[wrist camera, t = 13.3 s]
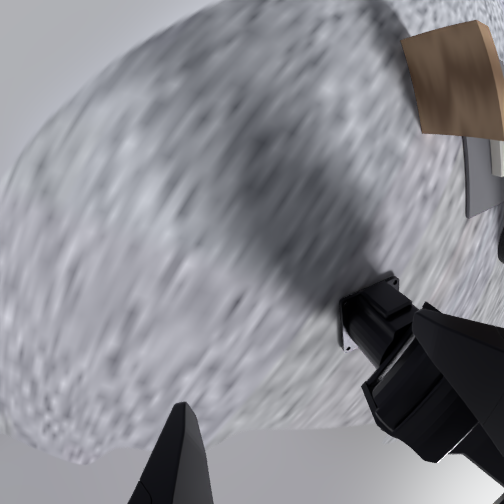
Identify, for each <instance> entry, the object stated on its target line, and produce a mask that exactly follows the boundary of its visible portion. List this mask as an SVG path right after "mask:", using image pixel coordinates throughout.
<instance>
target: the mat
mask: <svg viewBox="0 0 504 504" xmlns="http://www.w3.org/2000/svg"><path fill="white" fill-rule="evenodd" d="M499 61H500V65H501V69H502V73H503V77H504V63H503V61H501V60H499ZM463 141H464V152H465V165H466V191H467V206H466V217H467V218H472V217H474V216H476V215H478V214H480V213H482V212H484V211H486V210H488V209H490V208H492V207H495V206H497V205H499V204H501V203H503V202H504V176H503V177H499V176H495V175H492V159H491V145H490V139H483V138H475V137H466V136H463Z"/></svg>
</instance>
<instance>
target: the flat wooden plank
mask: <svg viewBox="0 0 504 504" xmlns="http://www.w3.org/2000/svg"><path fill="white" fill-rule="evenodd" d="M400 41H401V44H402V47H403V50H404V54H405V57H406V60H407V64H408V68H409V71H410V75H411V79H412V83H413V88H414V92H415V97H416V101H417V106H418V112H419V117H420V123H421V129H422V133H424V134H442V135H455V136H466V137H475V138H483V139H491V140H498V141H504V77H503V73H502V69H501V65H500V61H499V58H498V54H497V51H496V48H495V45H494V41H493V38H492V36H491V33H490V30H489V27H488V26H486V25H485V24H483V23H481V22H479V21H477V20H474V21H469V22H464V23H459V24H455V25H451V26H447V27H443V28H439V29H435V30H432V31H428V32H425V33H422V34H418V35H415V36H412V37H409V38H406V39H403V40H400Z"/></svg>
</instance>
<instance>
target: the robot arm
mask: <svg viewBox="0 0 504 504" xmlns="http://www.w3.org/2000/svg"><path fill="white" fill-rule="evenodd" d="M345 302H346V304H344V303H345ZM339 307H340V320H341V335H342V349H343V351H344V352H345V353H347V352H350V351H352V350H354V349H356V348H360V350H361V351H362V352H363V353H364V354H365V356H366V357H367V358H368V359H369V360H370V362H371V363H372V364H373V365H374V366H375V368H376V369H377V370H376V371H375V372H374V373H373V375H372V376H371V377H370V378H369V379H368V380H367V381H365V382H364V383H363V385H362V386H361V387H362V390H363V392H364V395H365V397H366V400H367V402H368V405H369V407H370V410H371V412H372V415H373V417H374V420H375V422H376V424H377V426H379V427H380V428H381V430H382V431H385V432H386V433H387V434H389V435H390V436H392V437H394V438H398V439H399V440H401V441H403V442H404V443H405V444H407V445H408V446H409V447H411V448H412V449H413V450H414V451H415V452H416V453H417V454H418V455H419V456H420V457H421V458H422V459H423V460H425V461H428V462H432V463H438V462H439V461H440V460H441V459H442V458H444V457H445V456H446V455H447V454H463V455H464V456H466V457H467V458H468V459H469V460H470V461H472V462H473V463H474V464H476V465H477V466H478V467H479V468H480V469H482V470H483V471H484V472H485V473H487V474H488V475H489V476H490V477H492V478H493V479H494V480H495V481H496V482H498V483H499V484H500V485H502V486H503V487H504V328H501V327H495V326H493V325H488V324H484V323H480V322H476V321H472V320H468V319H463V318H459V317H455V316H451V315H447V314H443V313H441V312H440V311H439V310H437V309H436V308H435V307H433V306H432V305H430V304H429V303H428V302H425V303H424V305H423V306H422V307H423V308H422V309H420V310H419V309H418V308H416V307H415V306H414V305H413V304H412V301H411V300H410V299H408V298H407V297H406V296H404V295H403V294H402V293H400V292H399V279H398V278H397V277H396V276H393V277H390V278H388V279H386V280H384V281H381V282H379V283H377V284H375V285H372V286H370V287H368V288H365V289H363V290H361V291H358V292H356V293H353V294H351V295H349V296H346V297H344V298H342V299H341V300H340V302H339ZM347 347H348V348H347ZM128 504H214V503H213V497H212V491H211V485H210V478H209V472H208V466H207V458H206V453H205V449H204V445H203V441H202V437H201V433H200V429H199V425H198V421H197V417H196V415H195V413H194V412H193V410H192V409H191V408H190V406H189V405H188V403H187V402H180V403H176V404H175V405H174V406H173V408H172V411H171V413H170V415H169V417H168V419H167V421H166V423H165V426H164V428H163V430H162V432H161V434H160V436H159V438H158V441H157V443H156V445H155V447H154V449H153V451H152V454H151V456H150V458H149V460H148V462H147V464H146V467H145V469H144V471H143V473H142V475H141V478H140V481H138V484H137V486H136V488H135V490H134V492H133V494H132V496H131V498H130V500H129V502H128ZM493 504H504V493H503V494H502V496H500V498H498V499H497V500H496V501H495V502H494V503H493Z"/></svg>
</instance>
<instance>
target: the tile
mask: <svg viewBox="0 0 504 504" xmlns="http://www.w3.org/2000/svg"><path fill="white" fill-rule="evenodd" d="M490 145H491V159H492V175H495V176H499V177H503V176H504V141H498V140H491V139H490Z"/></svg>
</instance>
